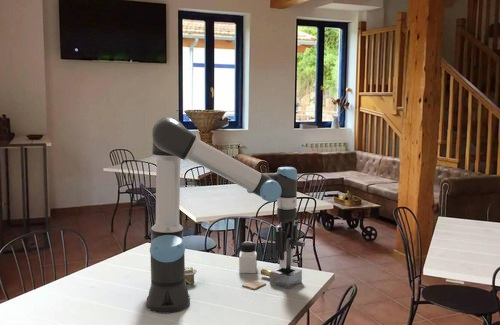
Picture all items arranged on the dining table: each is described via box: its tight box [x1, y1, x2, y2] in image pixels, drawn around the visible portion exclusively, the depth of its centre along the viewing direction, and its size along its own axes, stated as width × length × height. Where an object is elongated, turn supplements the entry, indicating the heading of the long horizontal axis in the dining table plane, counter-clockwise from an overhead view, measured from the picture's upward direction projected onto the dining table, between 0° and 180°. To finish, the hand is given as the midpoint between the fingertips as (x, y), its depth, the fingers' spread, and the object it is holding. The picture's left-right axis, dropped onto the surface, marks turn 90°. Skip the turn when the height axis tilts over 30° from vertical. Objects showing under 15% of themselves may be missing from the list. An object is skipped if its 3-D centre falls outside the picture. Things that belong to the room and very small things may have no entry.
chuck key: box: [281, 236, 306, 274], centre depth 195 cm, size 10×4×16 cm, turn 52°
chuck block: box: [260, 266, 303, 290], centre depth 200 cm, size 9×16×5 cm, turn 52°
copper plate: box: [241, 279, 267, 291], centre depth 196 cm, size 7×6×1 cm
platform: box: [185, 266, 198, 285], centre depth 197 cm, size 12×18×7 cm, turn 109°
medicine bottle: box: [238, 241, 258, 274], centre depth 212 cm, size 7×7×12 cm
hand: (285, 265), depth 198 cm, fingers closed on chuck key, 3 cm apart
